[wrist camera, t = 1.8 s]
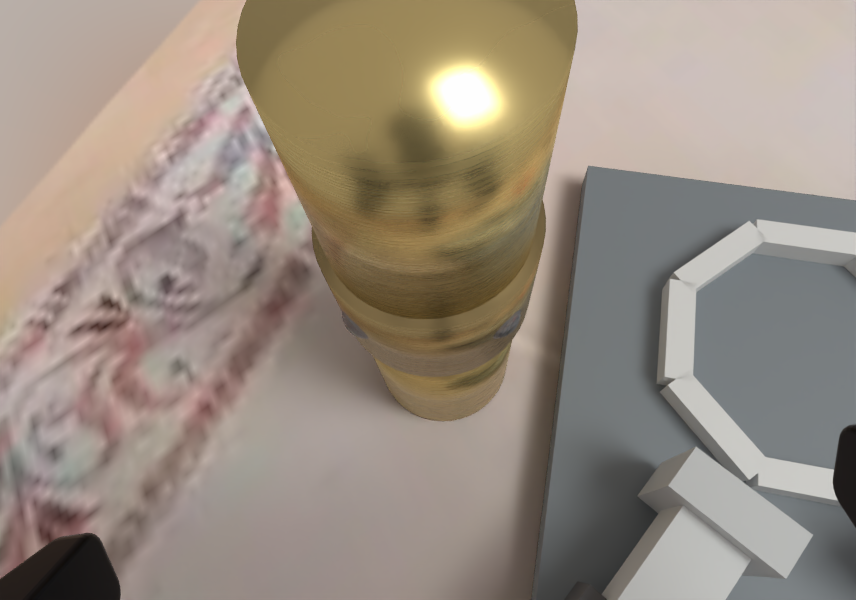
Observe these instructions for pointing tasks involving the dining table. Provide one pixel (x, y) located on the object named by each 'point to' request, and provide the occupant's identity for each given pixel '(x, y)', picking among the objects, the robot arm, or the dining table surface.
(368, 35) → the coupler
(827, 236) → the base
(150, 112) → the dining table surface
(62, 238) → the dining table surface
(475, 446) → the dining table surface
